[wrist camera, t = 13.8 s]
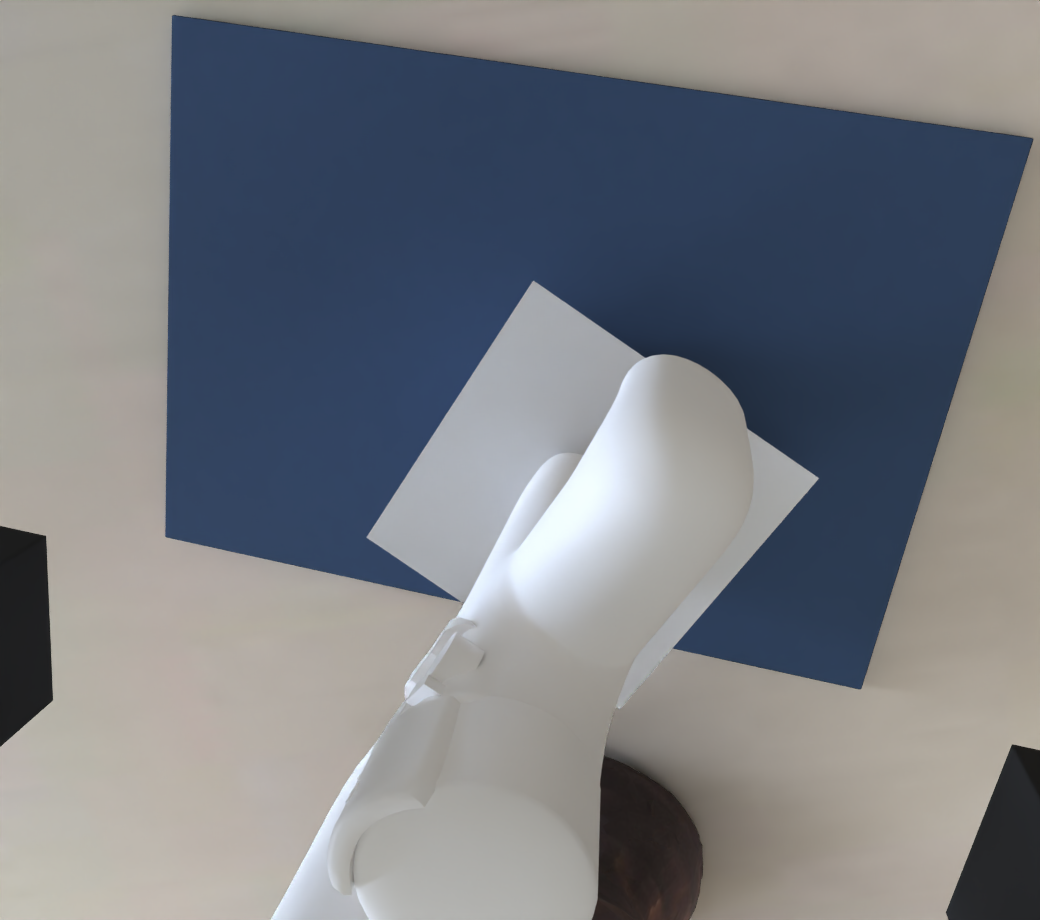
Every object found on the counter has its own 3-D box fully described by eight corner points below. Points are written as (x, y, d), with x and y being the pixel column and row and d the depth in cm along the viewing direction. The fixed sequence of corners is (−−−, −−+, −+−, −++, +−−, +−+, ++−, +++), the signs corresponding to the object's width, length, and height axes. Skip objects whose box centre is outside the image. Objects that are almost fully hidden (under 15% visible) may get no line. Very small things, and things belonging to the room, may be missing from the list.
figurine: (830, 393, 22) (1048, 802, 8) (607, 661, 26) (497, 1271, 12) (584, 221, 22) (384, 346, 8) (392, 514, 26) (18, 957, 12)
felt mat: (178, 16, 23) (171, 14, 22) (1029, 138, 20) (1034, 138, 20) (170, 533, 27) (164, 537, 27) (859, 684, 25) (861, 690, 25)
